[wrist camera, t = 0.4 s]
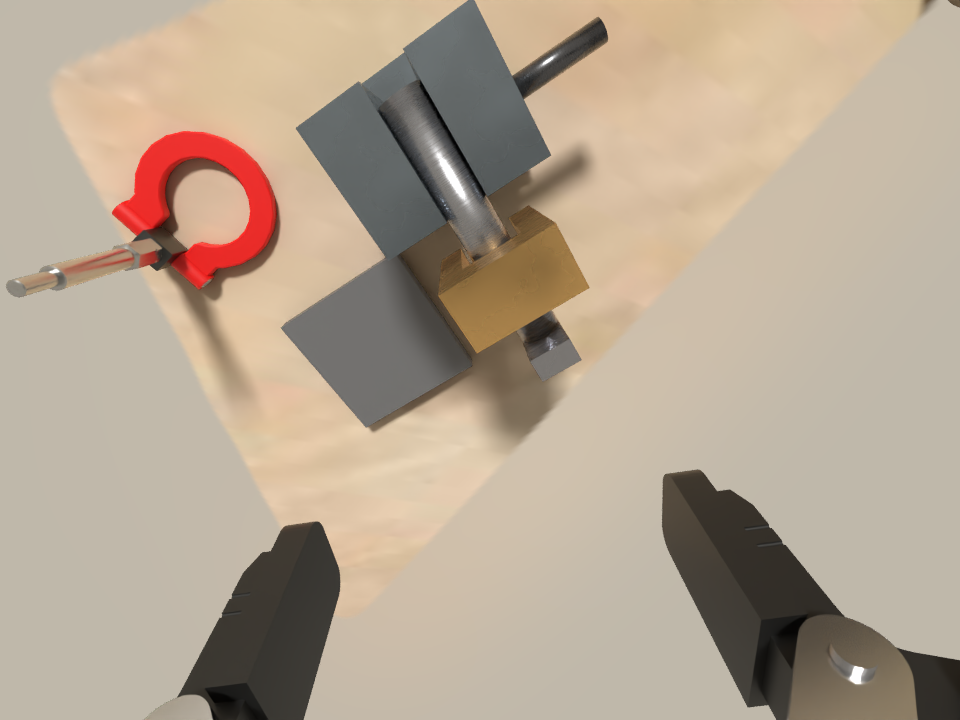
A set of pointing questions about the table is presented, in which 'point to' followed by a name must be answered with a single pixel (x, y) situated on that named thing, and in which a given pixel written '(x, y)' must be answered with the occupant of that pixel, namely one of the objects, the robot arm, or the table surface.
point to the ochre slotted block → (510, 281)
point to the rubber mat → (379, 341)
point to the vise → (446, 146)
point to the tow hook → (152, 211)
